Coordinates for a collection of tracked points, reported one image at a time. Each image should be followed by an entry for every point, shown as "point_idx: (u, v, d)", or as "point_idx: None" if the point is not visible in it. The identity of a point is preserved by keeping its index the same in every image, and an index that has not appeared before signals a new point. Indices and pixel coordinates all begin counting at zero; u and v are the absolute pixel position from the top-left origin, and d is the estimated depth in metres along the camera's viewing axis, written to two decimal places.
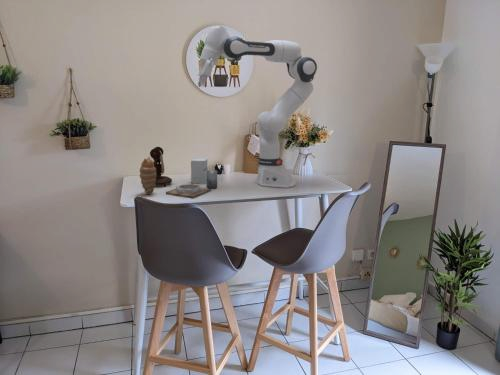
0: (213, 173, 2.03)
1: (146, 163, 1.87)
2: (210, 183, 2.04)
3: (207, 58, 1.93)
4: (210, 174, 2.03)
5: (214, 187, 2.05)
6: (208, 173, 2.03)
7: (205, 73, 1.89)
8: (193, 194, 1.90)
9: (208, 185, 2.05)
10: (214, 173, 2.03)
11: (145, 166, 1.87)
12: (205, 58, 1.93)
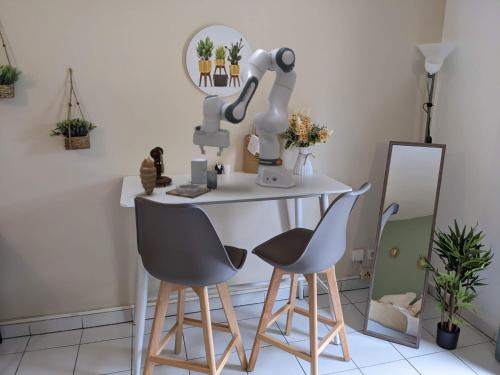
0: (213, 173, 2.03)
1: (146, 163, 1.87)
2: (210, 183, 2.04)
3: (217, 130, 1.97)
4: (210, 174, 2.03)
5: (214, 187, 2.05)
6: (208, 173, 2.03)
7: (227, 146, 1.97)
8: (193, 194, 1.90)
9: (208, 185, 2.05)
10: (214, 173, 2.03)
11: (145, 166, 1.87)
12: (215, 130, 1.97)
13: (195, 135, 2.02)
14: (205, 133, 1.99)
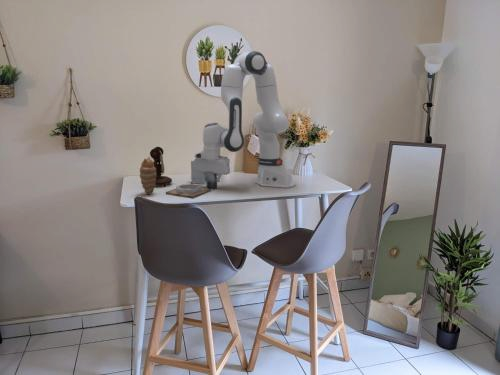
0: (213, 173, 2.03)
1: (146, 163, 1.87)
2: (210, 183, 2.04)
3: (217, 157, 2.00)
4: (210, 174, 2.03)
5: (214, 187, 2.05)
6: (208, 173, 2.03)
7: (228, 172, 2.00)
8: (193, 194, 1.90)
9: (208, 185, 2.05)
10: (214, 173, 2.03)
11: (145, 166, 1.87)
12: (215, 158, 2.00)
13: (196, 162, 2.06)
14: (206, 160, 2.03)
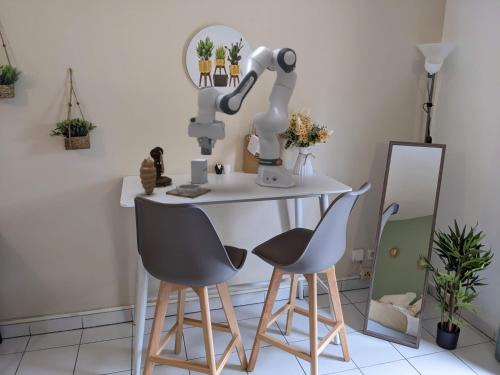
0: (208, 138, 1.97)
1: (146, 163, 1.87)
2: (204, 148, 1.98)
3: (212, 121, 1.94)
4: (204, 139, 1.96)
5: (208, 153, 1.99)
6: (202, 138, 1.97)
7: (222, 137, 1.94)
8: (193, 194, 1.90)
9: (202, 151, 1.98)
10: None
11: (145, 166, 1.87)
12: (210, 122, 1.94)
13: (190, 127, 1.99)
14: (200, 125, 1.96)
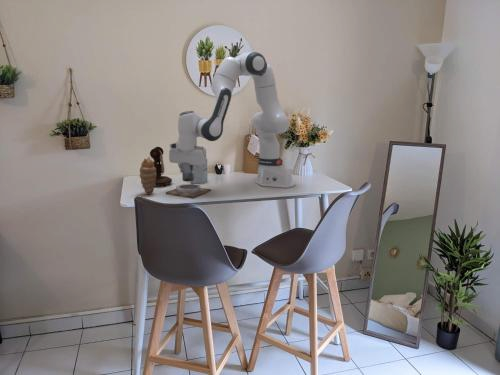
0: (189, 164, 1.91)
1: (146, 163, 1.87)
2: (185, 175, 1.92)
3: (193, 147, 1.89)
4: (186, 165, 1.91)
5: (190, 179, 1.93)
6: (183, 164, 1.92)
7: (204, 164, 1.89)
8: (193, 194, 1.90)
9: (184, 177, 1.93)
10: None
11: (145, 166, 1.87)
12: (191, 148, 1.88)
13: (171, 153, 1.94)
14: (181, 151, 1.91)
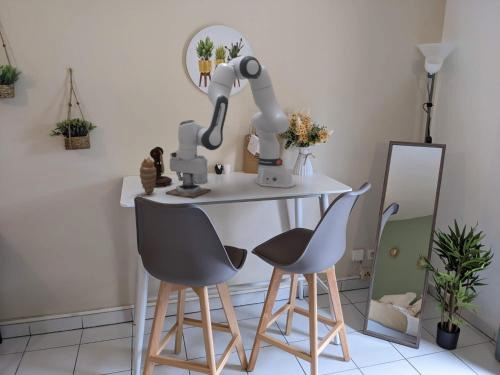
0: (189, 175, 1.93)
1: (146, 163, 1.87)
2: (186, 185, 1.94)
3: (193, 156, 1.90)
4: (186, 176, 1.93)
5: None
6: (184, 175, 1.93)
7: (204, 172, 1.90)
8: (193, 194, 1.90)
9: (184, 188, 1.95)
10: (190, 175, 1.93)
11: (145, 166, 1.87)
12: (191, 157, 1.89)
13: (171, 161, 1.95)
14: (181, 160, 1.92)
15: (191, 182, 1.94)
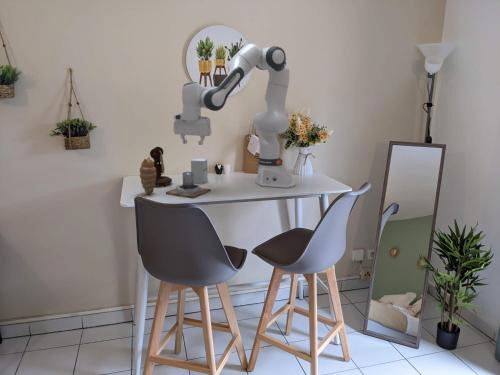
0: (189, 175, 1.93)
1: (146, 163, 1.87)
2: (186, 185, 1.94)
3: (197, 118, 1.92)
4: (186, 176, 1.93)
5: None
6: (184, 175, 1.93)
7: (208, 134, 1.92)
8: (193, 194, 1.90)
9: (184, 188, 1.95)
10: (190, 175, 1.93)
11: (145, 166, 1.87)
12: (195, 118, 1.91)
13: (175, 124, 1.97)
14: (185, 122, 1.94)
15: (191, 182, 1.94)
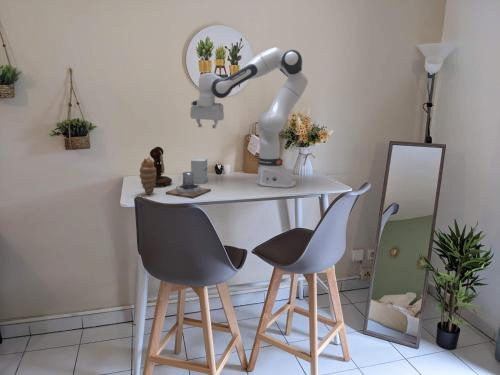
0: (189, 175, 1.93)
1: (146, 163, 1.87)
2: (186, 185, 1.94)
3: (212, 104, 2.16)
4: (186, 176, 1.93)
5: None
6: (184, 175, 1.93)
7: (221, 118, 2.16)
8: (193, 194, 1.90)
9: (184, 188, 1.95)
10: (190, 175, 1.93)
11: (145, 166, 1.87)
12: (210, 104, 2.15)
13: (192, 110, 2.21)
14: (201, 107, 2.18)
15: (191, 182, 1.94)
